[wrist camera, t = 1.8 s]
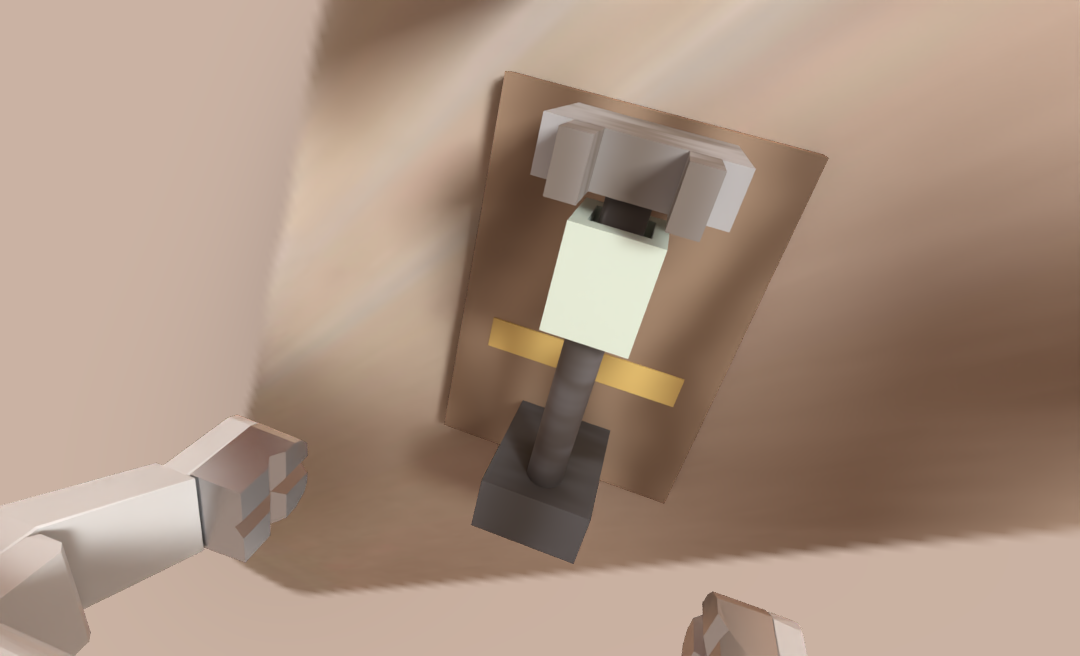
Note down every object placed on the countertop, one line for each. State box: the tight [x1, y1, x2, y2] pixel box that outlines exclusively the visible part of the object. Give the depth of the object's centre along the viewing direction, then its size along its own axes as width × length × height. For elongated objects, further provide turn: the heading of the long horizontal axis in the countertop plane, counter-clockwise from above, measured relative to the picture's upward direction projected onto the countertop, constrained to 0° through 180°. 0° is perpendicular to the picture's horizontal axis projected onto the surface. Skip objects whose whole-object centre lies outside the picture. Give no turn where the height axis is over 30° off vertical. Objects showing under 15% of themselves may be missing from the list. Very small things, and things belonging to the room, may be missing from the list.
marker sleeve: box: [539, 197, 669, 359], centre depth 23 cm, size 4×5×4 cm
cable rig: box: [444, 71, 828, 564], centre depth 27 cm, size 16×23×11 cm
